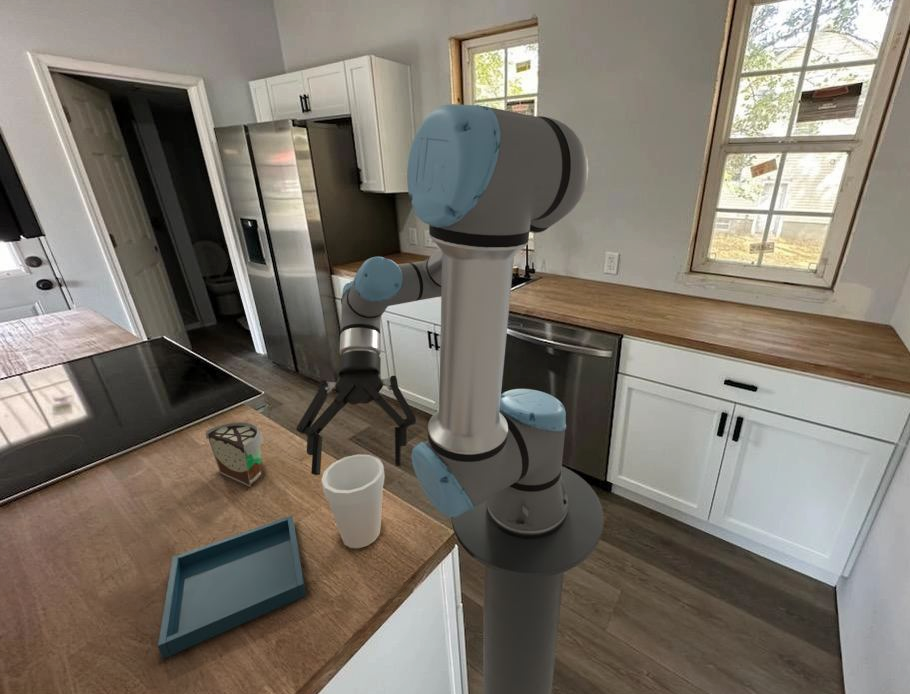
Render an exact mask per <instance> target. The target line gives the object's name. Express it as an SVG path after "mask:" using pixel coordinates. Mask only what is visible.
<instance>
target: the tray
mask: <svg viewBox="0 0 910 694" xmlns="http://www.w3.org/2000/svg"><path fill="white" fill-rule="evenodd" d="M297 537H298V536H297V532H296V527H295V521H294V516H293V514H291V515H289V516H285V517H282V518H279V519H276V520H274V521H271V522H268V523H266V524H262V525H260V526H257V527H254V528H251V529H248V530H246V531H245V530H244V531H243V532H240V533H237V534H233V535H231V536H228V537H226V538H223V539H220V540H217V541H214V542H211V543H208V544H205V545H201V546H199V547H197V548H194V549H191V550H188V551H185V552H182V553H179V554H177V555H174V556H172V557H171V562H170V568H169V575H168V579H167V580H168V581H167V587H166V591H165V592H166V593H165V598H164V605H163V611H162V617H161V623H160V629H159V635H158V640H157V641H158V642H157V648H158V651H159V653H160V655H161V659H162V660H164V659H167V658H168V657H172V656H174V655H176V654H178V653H180V652H182V651H185V650H187V649H189V648H192V647H193V646H195V645H198V644H201V643H203V642H205V641H207V640H209V639H211V638H214V637H216V636H218V635H221V634H224V633H226V632H227V631H229V630H232V629H234V628H236V627H238V626H242V625H243V624H245V623H248V622H250V621H253V620H254V619H256V618H259V617H261V616H264V615H266V614H268V613H270V612H273V611H275V610H277V609H280V608H282V607H285V606H286V605H289V604H290V603H293V602H295V601H298V600H300V599H302V598H304V597H306V596H307V593H306V587H305V581H304V575H303V568H302V563H301V556H300V550H299V543H298V538H297Z"/></svg>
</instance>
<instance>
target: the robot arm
mask: <svg viewBox="0 0 910 694" xmlns="http://www.w3.org/2000/svg"><path fill="white" fill-rule="evenodd" d="M406 168H407V169H406V170H407V171H406V180H407V181H406V183H407V184H406V185H407V192H408V196H409V197H410V198H412V200H411V207H412V209H413V211H414V213H415V214H416V216H417V217H418V218H419V220H421V222H423V223H424V224H427V225H429V226H428V227H429V228H428V229H429V231H428V235H429V236H428V237H429V238H430V240H432V241H433V243H434V244H435V245H437V247H439V248H438V249H436V251H434V252H433V253H432V254H431V255H430V256H429V257H428V258H426V259H425V260H422V261H414V262H406V263H396V262H395V261H394V260H392V259H390V258H386V257H383V256H373V257H370V258H368V259H365V261H363V263H362V264H361V266H360V267H359V268H358V270H357V271H356V273H355V275H354V278H353V280H350V282H347V283H345V284H344V286H343V287H342V292H341V293H342V294H341V297H340V304H341V311H340V312H341V313H340V316H341V317H340V335H339V351H338V352H339V358H338V376H337V379H336V381H327V380H326V379H321V380H320V381H319V383H318V389H317V392H316V394H315V395H314V397H313V399H312V401H311V402H310V404H309V406H308V408H307V409H306V410H305V412H304V414H303V416H302V418H301V419H300V420H299V423H298V424H297V426H296V428H295V429H296V432H298V433H299V434H301V435H305V436H306V437H307V440H306V454H307V455H308V456H312V457H311V458H312V459H311V473H310V474H312V475H314V476H320V475H321V467H322V453H323V452H322V450H323V436H322V435H320V433H322V431H323V430H324V429H325V427H327V425H329V423H330V422H331V421H332V420H333V419H334V418H335V417H336V415H338V413H339V412H340V410H342V409H344V408H345V406H347V404H350V406H351V405H352V406H354V405H358V404H364V405H367V404H370V403H371V402H373V401H374V403H375V404H376V405H378V406H379V407H380V409H382V410H383V411H384V413H386V415H388V416H389V418H390V419H391V420H392V421H393V422H394V423H395V424H396V425H397V426H395V427H394V453H395V454H394V456H395V457H394V459H395V461H394V462H395V463H394V464H395V467H401V466H402V447H406V446H407V444H408V433H407V432H408V430H407V429H408V428H409V427H411V426H414V425H416V423H417V417H416V415H415V414H414V412H413V410H412V409H411V407H410V405H409V403H408V402H407V400H406V398H405V396H404V395H403V393H402V390H401V389H400V387H399V382H398V378H397V376H396V375H391V376H390V377H388V378H382V375H381V373H382V372H381V369H382V368H381V367H382V364H381V363H382V360H381V359H382V358H381V356H380V355H381V353H382V352H381V351H382V349H381V343H382V342H381V340H382V339H381V337H382V336H381V328H382V327H381V324H382V322H381V321H382V320H381V319H382V316H383V314H384V313H385V312H386V310H387V308H388V307H391V306H397V305H402V304H408V303H413V302H417V301H423V300H429V299H435V298H441V299H440V306H441V307H440V341H439V342H440V343H439V344H440V345H439V346H440V347H439V348H440V349H439V390H438V391H439V393H438V394H439V395H438V396H439V398H438V401H439V402H438V409H437V410H436V411H435V412H434V413H433V414H432V416H431V417H430V418H429V421H428V424H427V425H428V426H427V440H426V441H424V442H423V441H421V442H419V443H418V444H417V445H416V446H414V447H413V448H412V451H411V462H412V463H411V464H412V467H413V471H414V474H415V476H416V479H417V482H418V483H419V486H420V487H421V489H422V491H423V493H424V495H425V496H426V497H427V500H429V502H430V504H431V505H432V506H433V507H434V508H435V510H437V511H438V512H439V513H440V514H441V515H443V516H445V517H448V518H451V517H456V516H459V515H460V514H462V513H464V512H466V511H468V510H473V509H474V507H476V506H478V505H479V504H481V503H482V502H484V501H486V500H487V513H488V516H489V518H490V519H491V521H492V522H493V524H494V525H495V526H496V527H498V528H499V529H500V530H502V531H503V532H505V533H507V534H509V535H512V536H515V537H519V538H526V539H533V538H541V537H544V536H547V535H550V534H552V533H554V532H555V531H557V530H558V529H559V528H560V527H561V526H562V525H563V523H564V522H565V520H566V517H567V513H568V498H567V494H566V490H565V487H564V484H563V480H562V477H561V468H562V466H563V456H564V448H565V447H564V445H565V437H566V430H567V423H566V421H567V420H566V416H567V412H566V408H565V406H564V404H563V403H562V402H561V401H560V400H559V399H558V398H556V397H555V396H553V395H552V394H549V393H547V392H544V391H540V390H536V389H531V388H515V389H514V388H513V389H510V390H507V391H504V392H502V390H503V389H502V387H503V378H504V377H503V376H504V367H505V357H506V346H507V345H506V344H507V335H508V327H509V326H508V324H509V316H510V315H509V314H510V306H511V305H510V303H511V292H512V282H513V272H514V262H515V261H514V260H515V256H516V255H517V254H518V253H519V252H522V250H524V248H525V247H527V246H528V245H529V240H530V239H529V238H530V233H532V234H540V233H543V232H545V231H547V230H548V229H549V228H551V227H552V226H553V225H555V224H556V223H558V222H559V221H560V220H562V219H563V218H564V217H566V216H567V215H568V214H570V213H571V212H572V211H573V210H574V209H575V207H576V206H577V205H578V203H579V202H580V201H581V199H582V197H583V195H584V193H585V190H586V188H587V184H588V180H589V160H588V156H587V152H586V149H585V146H584V144H583V142H582V140H581V139H580V138H579V136H578V135H577V134H576V133H575V131H574V130H573V129H572V128H570V127H569V126H568V125H567V124H565V123H564V122H561V121H560V120H558V119H556V118H552V117H548V116H543V115H542V116H539V115H538V116H537V115H531V114H526V113H521V112H516V111H512V110H505V109H501V108H496V107H491V106H486V105H479V104H474V105H473V104H457V103H450V104H444V105H441V106H439V107H437V108H435V109H433V110H432V111H431V112H430V113H428V114H427V116H426V117H425V118H424V119H423V121H422V122H421V125H420V127H418V128H417V130H416V133H415V135H414V137H413V141H412V142H411V146H410V150H409V154H408V160H407V167H406ZM383 387H386V388H387V390H389V391H392V394H393V396H394V397H395V399H396V401H397V403H398V404H399V406H400V408H401V410H402V411H403V413H404V415H405V417H406V418H405V419H404V418H403V417H402V416H401V415H400V414H399V413H398V411H396V410H395V408H393V407H392V405H390V404H389V403H388V402H387V401H386V399H384V398H383V396H382V395H381V394H380V391H381V390H382V389H383ZM334 390H336V391H337V392H338V394H337V395H336V397H335V398H334V399H333V401H332V403H330V404H329V405H328V407H327V408H326V409H325V410H324V411H323V412H322V413H321V414H320V416H319V417H318V418H317V416H318V415H319V412H320V411H321V409H322V407H323V406H324V404H325V402H326V400H327V399H328V396H329V395H331V394H332V392H333V391H334ZM316 418H317V419H316Z"/></svg>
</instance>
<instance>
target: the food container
mask: <svg viewBox="0 0 910 694" xmlns="http://www.w3.org/2000/svg"><path fill="white" fill-rule="evenodd" d="M205 438H206V440H208V442H209V445H210V448H211V451H212V455H213V456H214V459H215V462H216V465H217V468H218V470H219V471H218V472H219V474H221V475H223V476H225V477H228V478H230V479H231V480H234V481H236V482H238V483H241V484H244V485H245V486H247V487H250V488H252V487H253V486H254V485H256V484H257V483H258V482H259V481H260V480H261V479H262V476H263V475H264V469H263V462H262V461H263V460H262V453H261V452H262V451H261V445H262V443H263V440H264V437H263V435H262V433H261V430H260V429H259V428H258V427H257V426H256V425H255V424H253V423H251V422H244V421H235V422H229V423H223V424H220V425H216V426H214V427H211V428H209V429H206V430H205Z"/></svg>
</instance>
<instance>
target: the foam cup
mask: <svg viewBox="0 0 910 694" xmlns="http://www.w3.org/2000/svg"><path fill="white" fill-rule="evenodd" d="M385 478H386V476H385V468H384V464H383V462H382V461H381V460H380V458H378V457H376V456H374V455H371V454H362V453H361V454H353V455H348V456H344V457H342V458H340V459H338V460H336V461H334V462H332V463H331V464H330V465H329V466H328V467H327V468H326V469H325V470H324V471H323V474H322V477H321V486H322V492H323V494H324V496H325V499H326V500H327V501H328V504H329V508H330V510H331V512H332V515H333V518H334V521H335V524H336V528H337V529H338V532H339V535H340V537H341V538H340V539H341V540H342V542H343V544H344V546H346V547H348V548H350V549H361V548H364V547H367V546H369V545H371V544H372V543H373V542H375V541H376V540H377V538H378V537H379V536H380V534H381V526H382V509H383V508H382V507H383V493H384V492H383V491H384V485H385Z"/></svg>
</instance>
